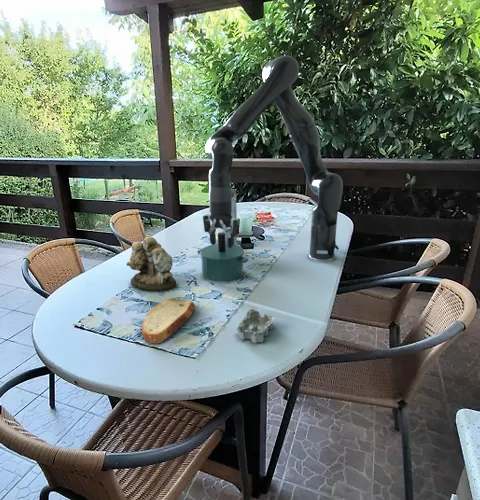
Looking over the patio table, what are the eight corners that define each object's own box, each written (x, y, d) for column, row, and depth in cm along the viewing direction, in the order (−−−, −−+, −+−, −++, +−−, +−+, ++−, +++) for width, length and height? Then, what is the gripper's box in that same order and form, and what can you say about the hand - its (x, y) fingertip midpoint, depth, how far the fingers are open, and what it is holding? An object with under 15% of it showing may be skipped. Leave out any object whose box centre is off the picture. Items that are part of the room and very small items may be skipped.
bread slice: (147, 347, 92) (146, 334, 91) (131, 314, 108) (130, 303, 107) (212, 329, 99) (211, 317, 98) (188, 301, 114) (187, 290, 113)
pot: (211, 262, 144) (210, 242, 141) (256, 272, 133) (256, 251, 130) (188, 276, 133) (187, 254, 130) (235, 288, 122) (235, 264, 119)
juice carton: (229, 242, 166) (228, 182, 157) (238, 249, 157) (238, 186, 147) (211, 245, 163) (209, 184, 154) (219, 252, 154) (217, 188, 145)
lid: (216, 244, 140) (215, 225, 138) (252, 251, 132) (252, 230, 129) (191, 257, 128) (190, 236, 126) (229, 265, 120) (228, 243, 117)
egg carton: (251, 319, 103) (251, 306, 102) (276, 326, 99) (277, 312, 98) (233, 337, 95) (233, 324, 93) (260, 346, 91) (260, 332, 89)
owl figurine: (121, 287, 126) (114, 240, 120) (138, 274, 136) (133, 230, 130) (168, 294, 120) (163, 245, 114) (182, 279, 130) (179, 234, 124)
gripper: (244, 198, 122) (244, 245, 128) (209, 195, 130) (211, 239, 136) (232, 203, 116) (233, 252, 122) (196, 199, 124) (199, 245, 130)
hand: (221, 245), depth 129 cm, fingers open, 6 cm apart
